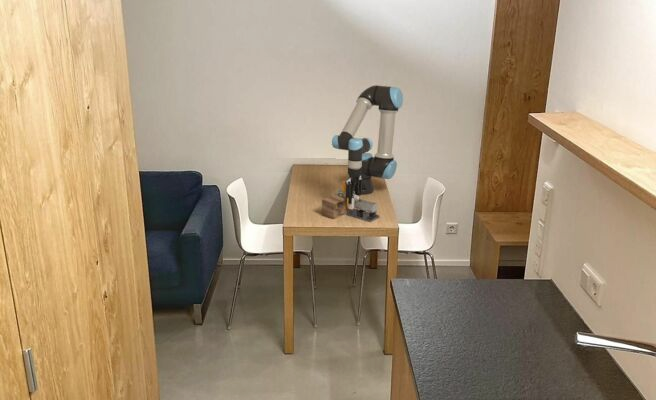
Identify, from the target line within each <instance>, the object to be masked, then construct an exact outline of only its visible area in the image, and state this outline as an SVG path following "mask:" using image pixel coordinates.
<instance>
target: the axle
mask: <svg viewBox="0 0 656 400" xmlns="http://www.w3.org/2000/svg"><path fill="white" fill-rule="evenodd" d="M353 209H358V210H364V211H366V212H369V213H370V212H371V213H373V212H375V211H377V212H378V210H377V209H378V203H376V202H373V201H369V200H365V199H361V198H359V199H358V198H354V199H353Z"/></svg>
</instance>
